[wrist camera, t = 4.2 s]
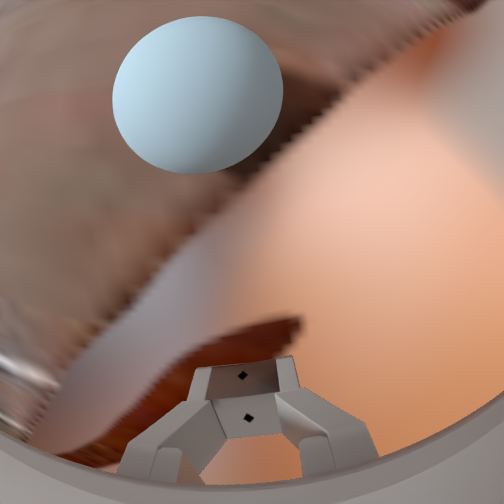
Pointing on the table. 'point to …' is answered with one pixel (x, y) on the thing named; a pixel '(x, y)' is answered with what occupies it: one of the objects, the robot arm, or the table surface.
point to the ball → (197, 95)
